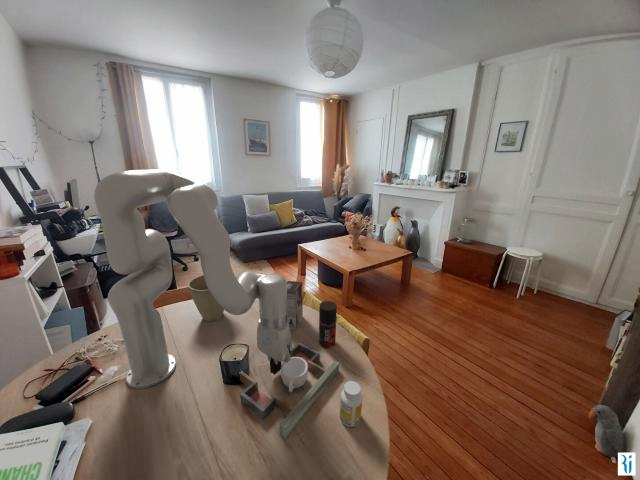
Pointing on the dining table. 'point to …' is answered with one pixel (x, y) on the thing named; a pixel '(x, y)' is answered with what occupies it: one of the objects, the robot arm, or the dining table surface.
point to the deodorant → (327, 324)
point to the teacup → (294, 372)
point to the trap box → (265, 405)
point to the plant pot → (204, 299)
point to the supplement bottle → (351, 404)
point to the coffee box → (294, 303)
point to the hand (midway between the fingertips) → (276, 370)
